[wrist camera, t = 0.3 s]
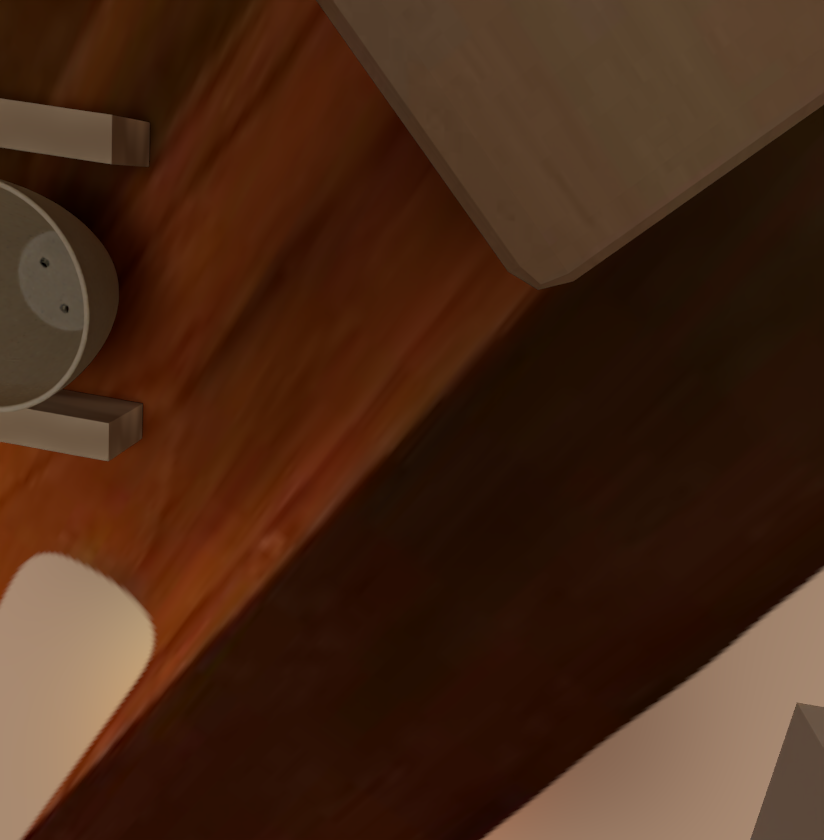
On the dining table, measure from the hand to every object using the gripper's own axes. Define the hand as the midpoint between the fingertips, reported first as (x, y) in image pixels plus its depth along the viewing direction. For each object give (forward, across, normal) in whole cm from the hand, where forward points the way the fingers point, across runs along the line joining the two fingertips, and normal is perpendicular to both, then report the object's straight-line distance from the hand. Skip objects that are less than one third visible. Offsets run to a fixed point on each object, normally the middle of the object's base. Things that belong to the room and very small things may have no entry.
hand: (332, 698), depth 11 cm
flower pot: (+26, -20, +1) cm, 33 cm away
